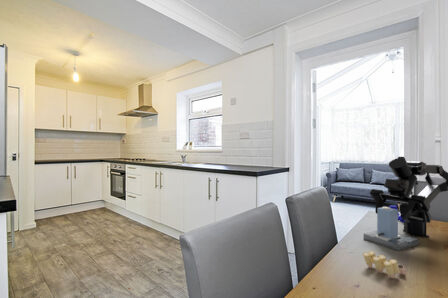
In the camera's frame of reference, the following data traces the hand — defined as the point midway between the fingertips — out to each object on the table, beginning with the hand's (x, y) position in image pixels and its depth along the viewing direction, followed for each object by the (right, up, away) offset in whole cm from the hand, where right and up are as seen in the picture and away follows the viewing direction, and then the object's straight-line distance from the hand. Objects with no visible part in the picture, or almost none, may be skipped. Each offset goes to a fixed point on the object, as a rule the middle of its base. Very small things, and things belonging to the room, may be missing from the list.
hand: (389, 215), depth 85 cm
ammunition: (-18, -10, -22) cm, 30 cm away
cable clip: (+27, -11, +30) cm, 42 cm away
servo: (-1, -10, -1) cm, 10 cm away
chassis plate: (+1, -10, 0) cm, 10 cm away
